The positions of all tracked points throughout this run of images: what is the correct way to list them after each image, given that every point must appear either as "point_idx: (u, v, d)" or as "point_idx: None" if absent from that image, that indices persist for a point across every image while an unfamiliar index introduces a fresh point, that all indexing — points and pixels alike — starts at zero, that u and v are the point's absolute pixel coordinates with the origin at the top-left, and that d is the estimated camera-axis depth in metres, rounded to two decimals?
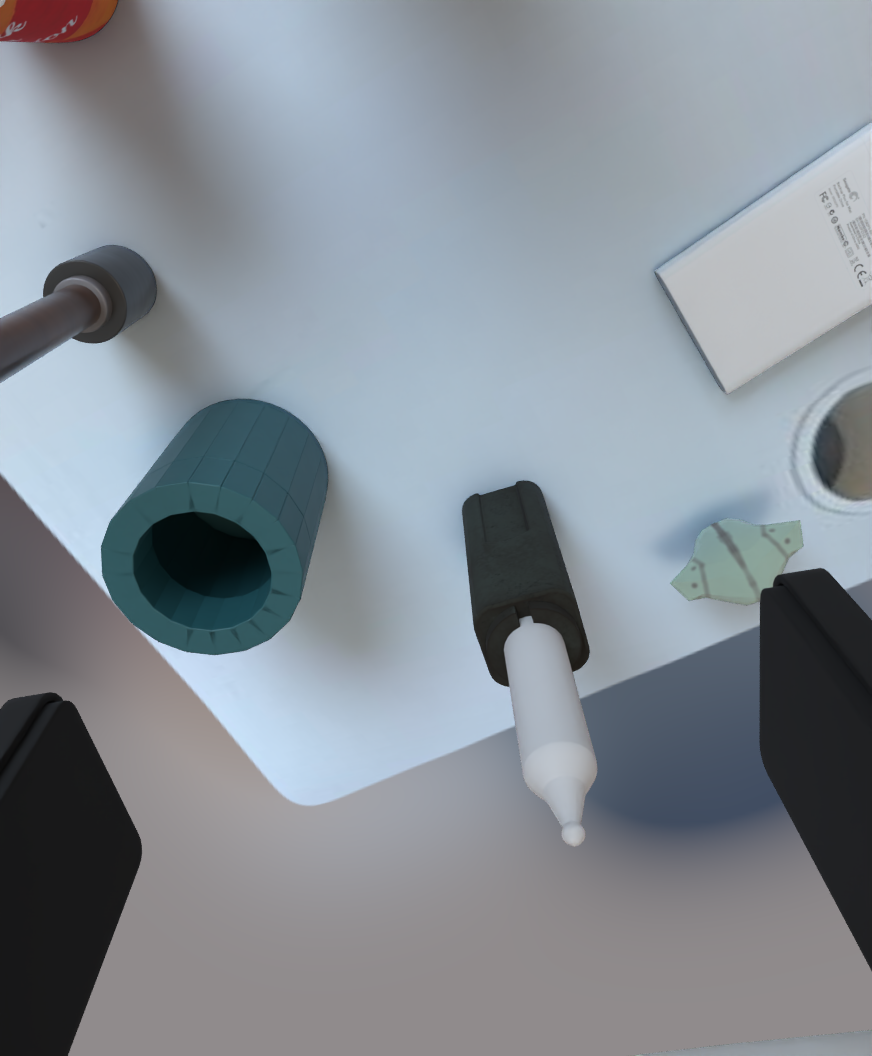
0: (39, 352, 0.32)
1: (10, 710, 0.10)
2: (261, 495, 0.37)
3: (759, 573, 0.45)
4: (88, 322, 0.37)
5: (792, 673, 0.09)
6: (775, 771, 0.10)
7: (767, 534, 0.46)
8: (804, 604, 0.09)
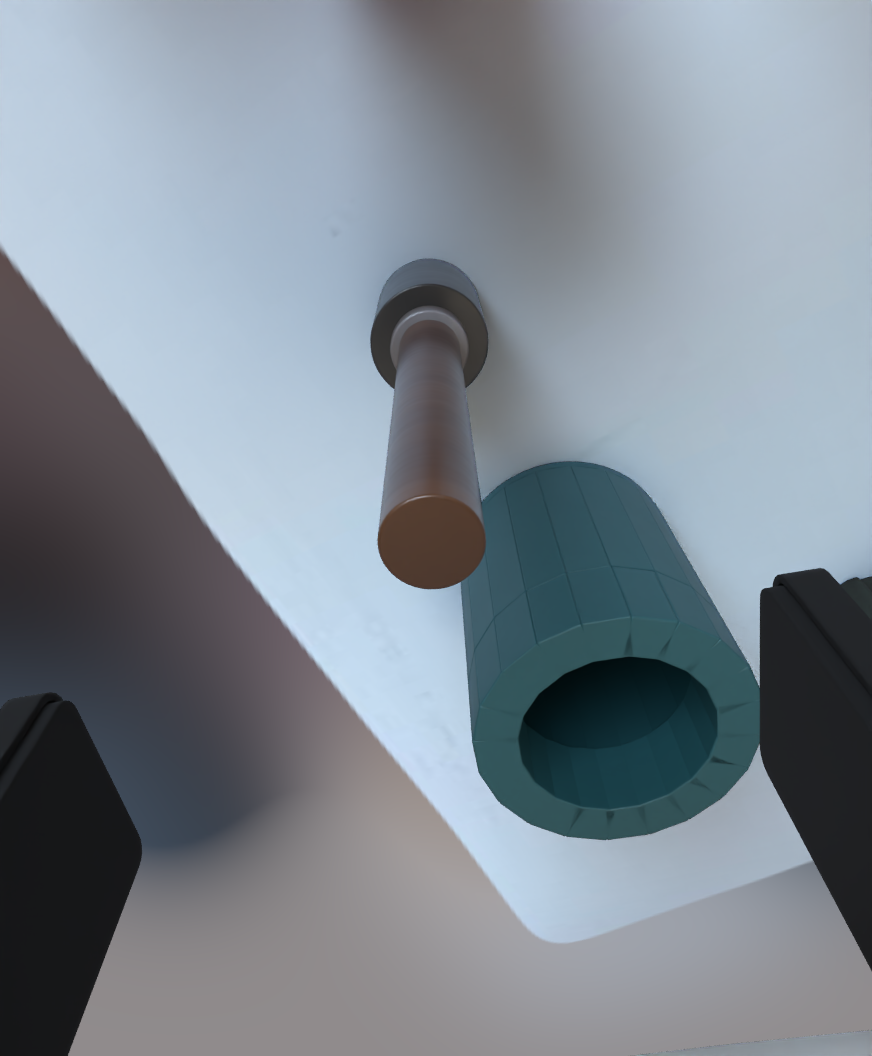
0: None
1: (10, 710, 0.10)
2: (718, 629, 0.25)
3: None
4: None
5: (792, 673, 0.09)
6: (775, 771, 0.10)
7: None
8: (804, 604, 0.09)
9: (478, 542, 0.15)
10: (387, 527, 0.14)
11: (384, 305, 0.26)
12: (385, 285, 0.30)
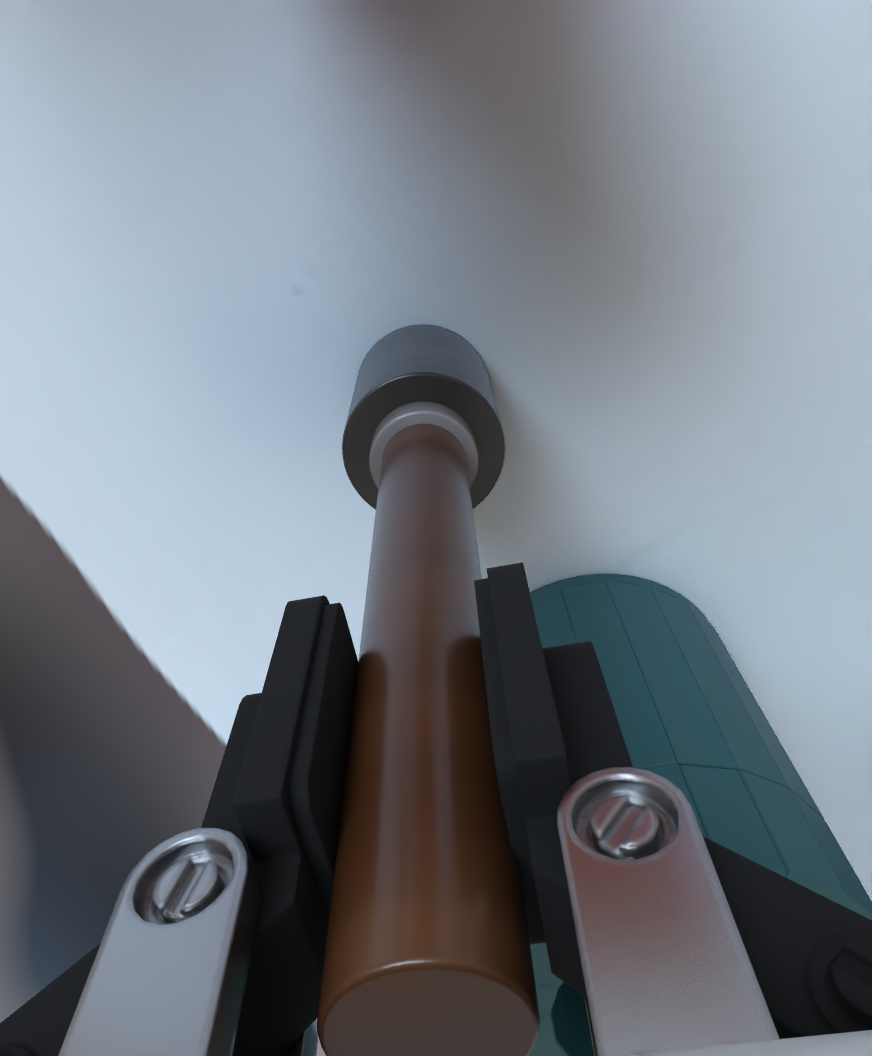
0: None
1: (296, 609, 0.11)
2: (838, 868, 0.18)
3: None
4: None
5: None
6: None
7: None
8: (491, 594, 0.10)
9: (524, 1032, 0.07)
10: (336, 1011, 0.07)
11: (361, 401, 0.19)
12: (365, 360, 0.23)
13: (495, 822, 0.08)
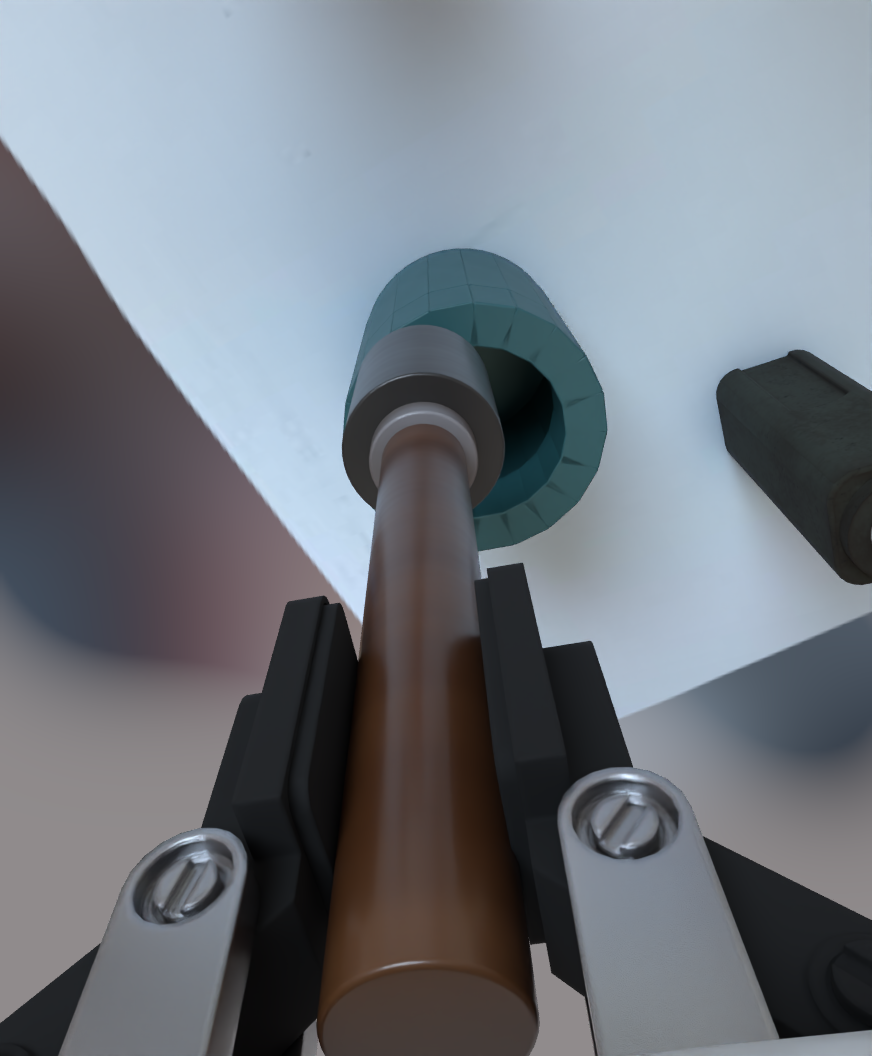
0: None
1: (296, 609, 0.11)
2: (559, 326, 0.28)
3: None
4: None
5: None
6: None
7: None
8: (491, 594, 0.10)
9: (524, 1033, 0.07)
10: (335, 1012, 0.07)
11: (360, 401, 0.19)
12: (365, 360, 0.23)
13: (494, 823, 0.08)
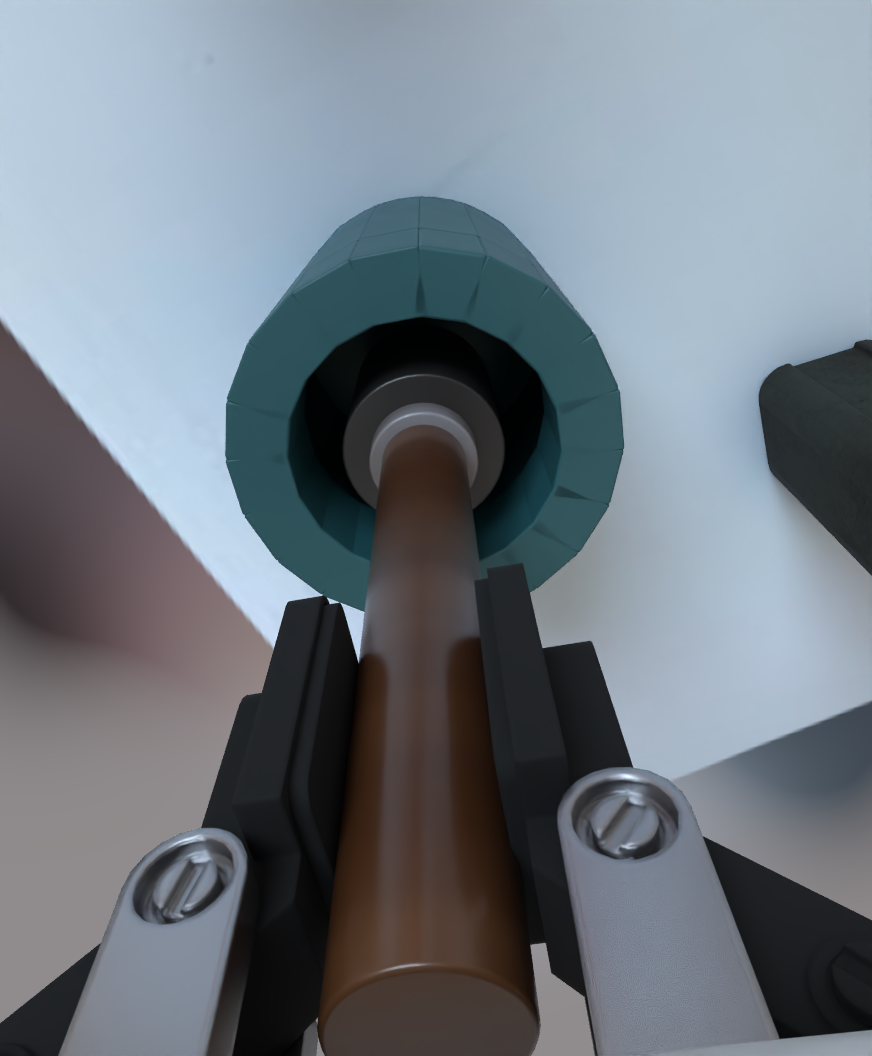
0: None
1: (296, 608, 0.11)
2: (553, 288, 0.18)
3: None
4: None
5: None
6: None
7: None
8: (491, 594, 0.10)
9: (525, 1035, 0.07)
10: (336, 1014, 0.07)
11: (361, 402, 0.19)
12: (365, 361, 0.23)
13: (495, 824, 0.08)
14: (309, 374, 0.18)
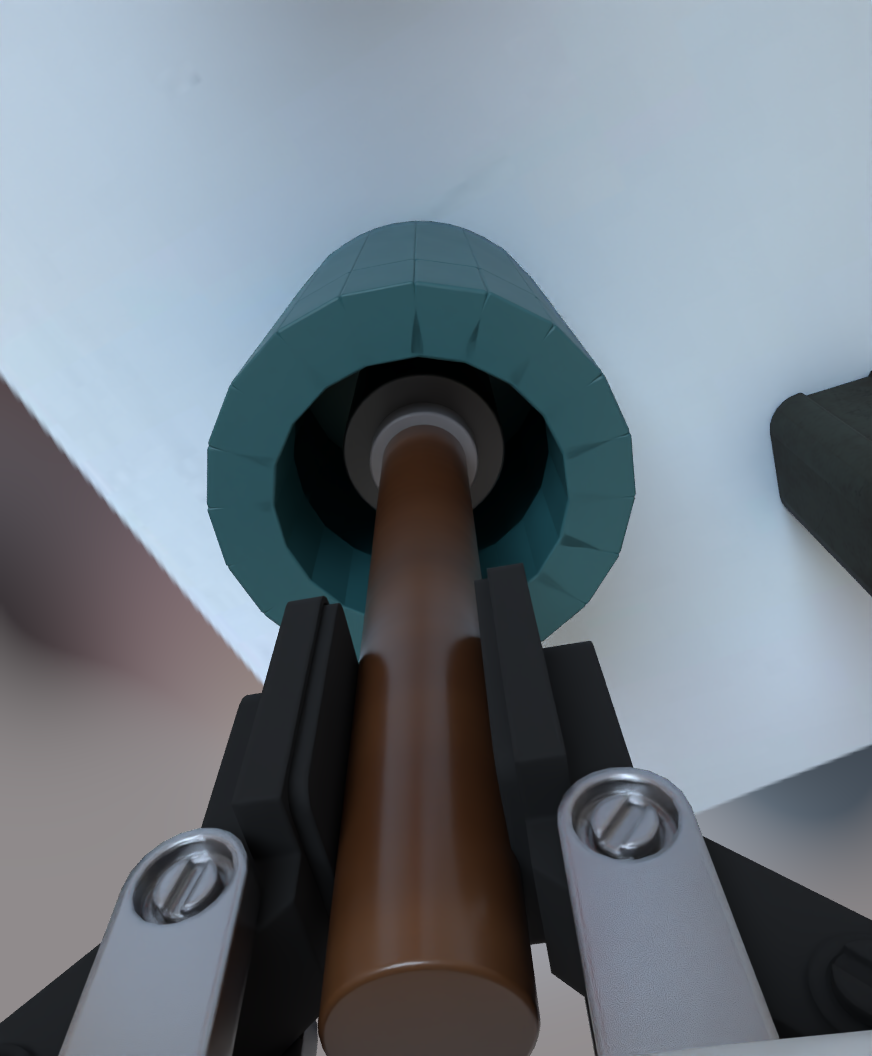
0: None
1: (296, 608, 0.11)
2: (559, 325, 0.17)
3: None
4: None
5: None
6: None
7: None
8: (491, 594, 0.10)
9: (525, 1033, 0.07)
10: (337, 1012, 0.07)
11: (361, 402, 0.19)
12: None
13: (495, 823, 0.08)
14: (297, 417, 0.17)
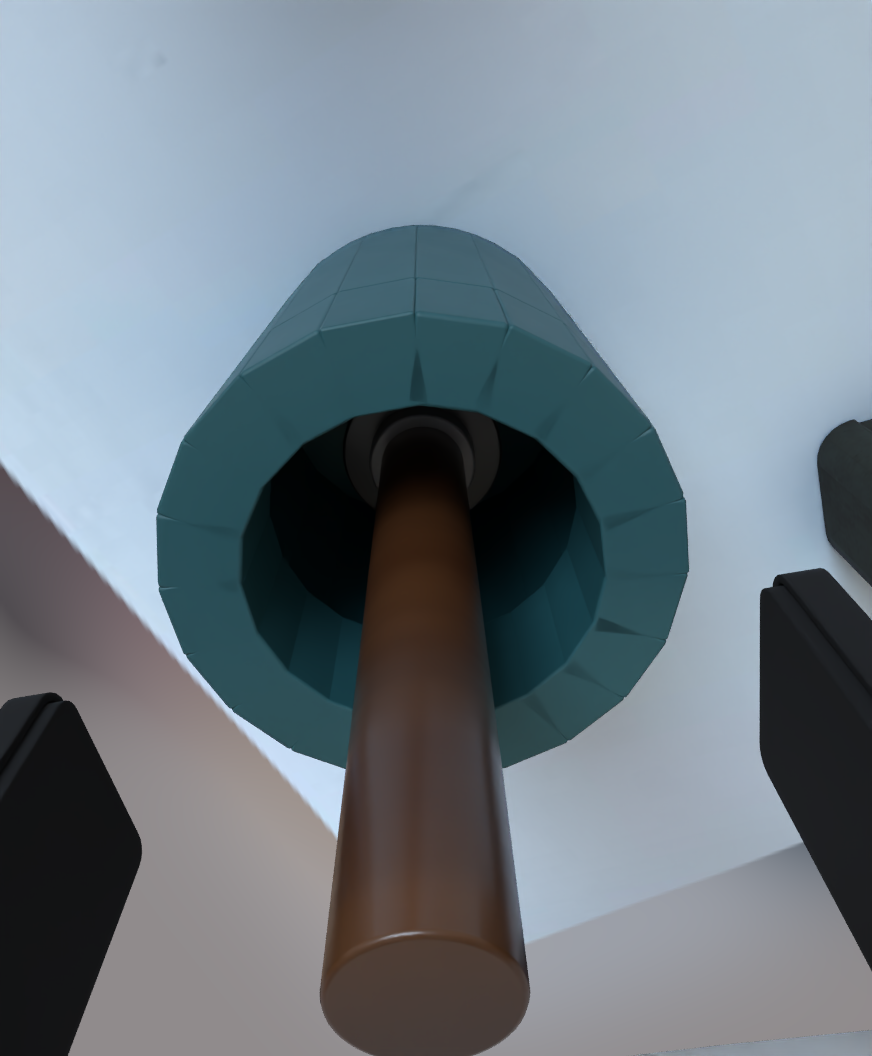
0: None
1: (10, 710, 0.10)
2: (597, 363, 0.13)
3: None
4: None
5: (792, 673, 0.09)
6: (775, 771, 0.10)
7: None
8: (804, 604, 0.09)
9: (515, 1001, 0.08)
10: (338, 981, 0.07)
11: None
12: None
13: (488, 806, 0.09)
14: (267, 480, 0.13)
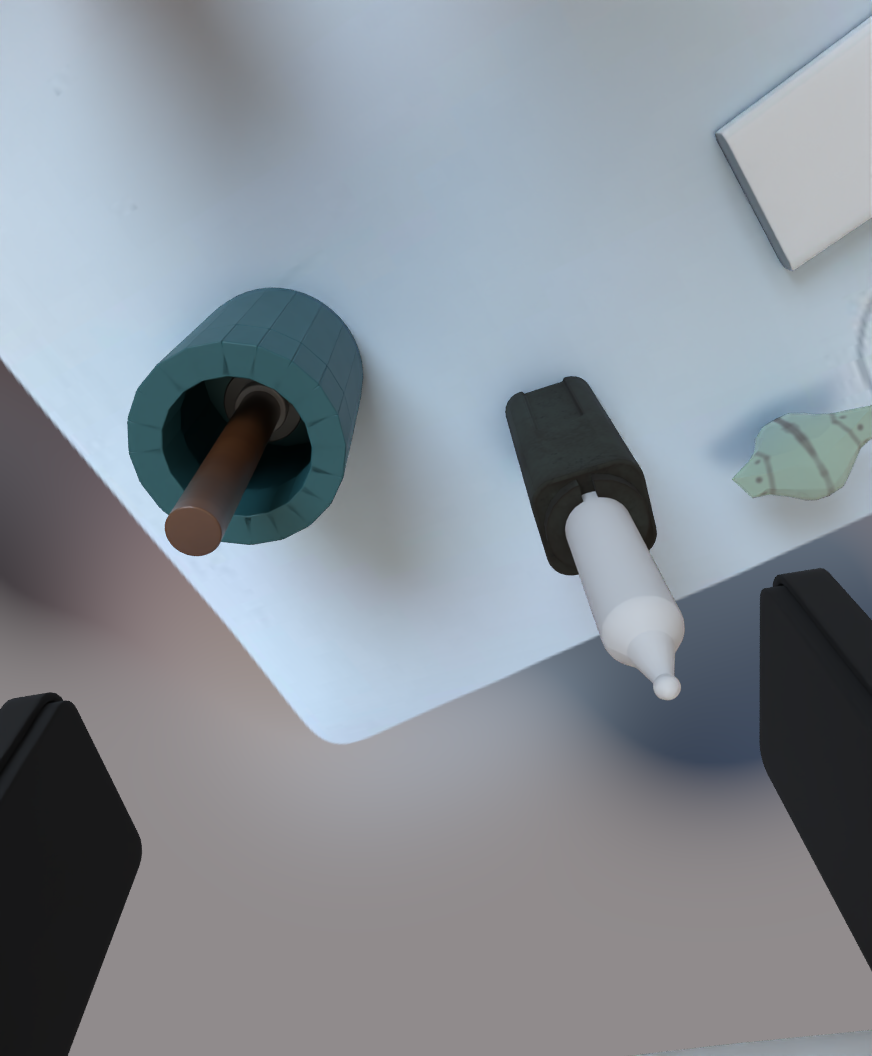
0: None
1: (10, 710, 0.10)
2: (300, 360, 0.34)
3: (831, 461, 0.42)
4: (274, 428, 0.39)
5: (792, 673, 0.09)
6: (775, 771, 0.10)
7: (838, 421, 0.42)
8: (804, 604, 0.09)
9: (217, 531, 0.28)
10: (168, 523, 0.28)
11: (230, 380, 0.40)
12: None
13: (222, 493, 0.29)
14: (170, 406, 0.34)
